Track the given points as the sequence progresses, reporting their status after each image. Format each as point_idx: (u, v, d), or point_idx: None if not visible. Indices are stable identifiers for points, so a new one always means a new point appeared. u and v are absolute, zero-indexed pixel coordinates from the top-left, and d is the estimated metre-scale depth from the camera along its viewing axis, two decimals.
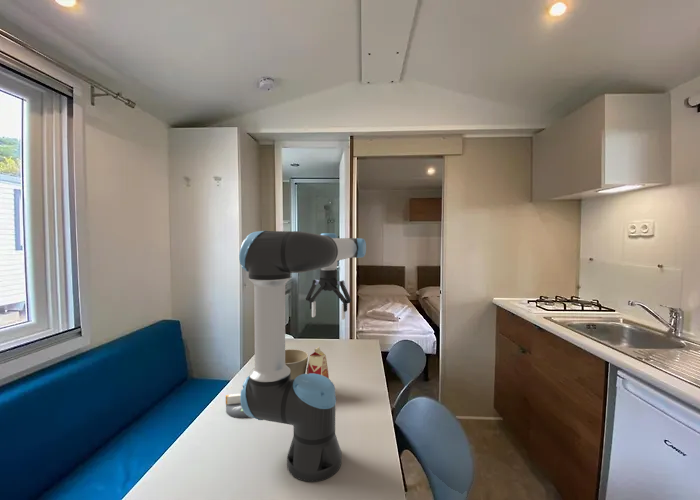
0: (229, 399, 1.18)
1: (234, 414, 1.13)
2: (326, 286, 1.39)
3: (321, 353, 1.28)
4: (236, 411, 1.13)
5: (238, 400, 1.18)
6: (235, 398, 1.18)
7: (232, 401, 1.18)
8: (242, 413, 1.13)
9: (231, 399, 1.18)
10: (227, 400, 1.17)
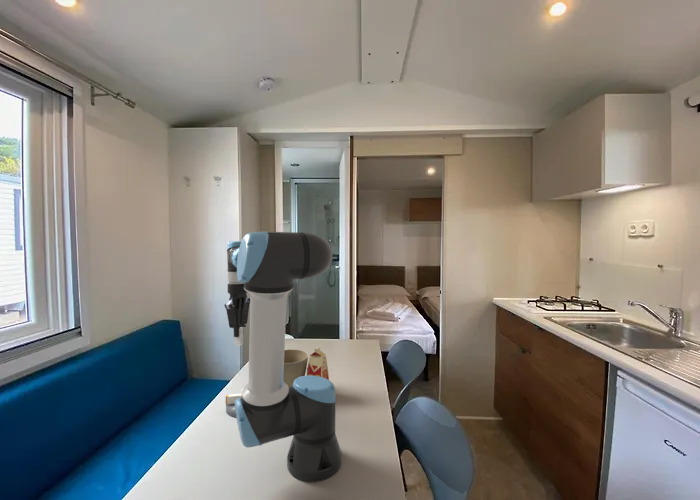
0: (229, 399, 1.18)
1: (234, 414, 1.13)
2: None
3: (321, 353, 1.28)
4: None
5: None
6: (235, 398, 1.18)
7: (232, 401, 1.18)
8: None
9: (231, 399, 1.18)
10: (227, 400, 1.17)
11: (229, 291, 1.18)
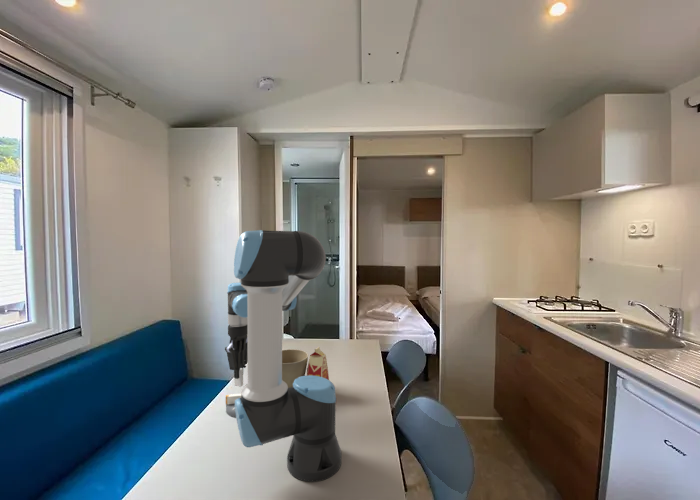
0: (229, 399, 1.18)
1: (234, 414, 1.13)
2: None
3: (321, 353, 1.28)
4: None
5: None
6: (235, 398, 1.18)
7: (232, 401, 1.18)
8: None
9: (231, 399, 1.18)
10: (227, 400, 1.17)
11: (229, 334, 1.19)
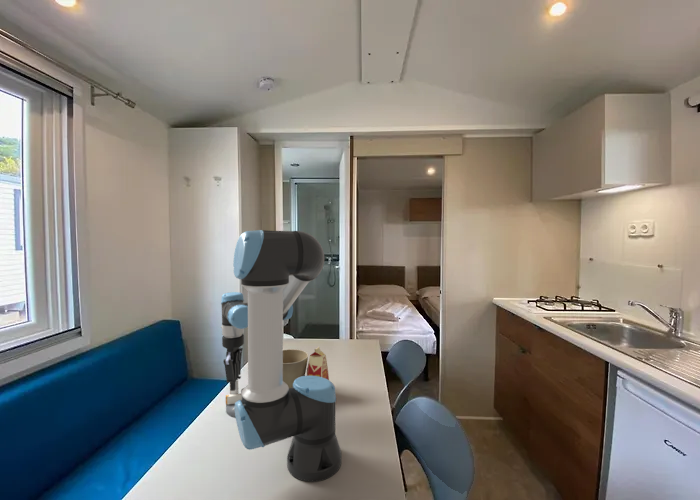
0: (229, 399, 1.18)
1: (234, 414, 1.13)
2: None
3: (321, 353, 1.28)
4: None
5: None
6: (235, 398, 1.18)
7: (232, 401, 1.18)
8: None
9: (231, 399, 1.18)
10: (227, 400, 1.17)
11: (226, 346, 1.16)
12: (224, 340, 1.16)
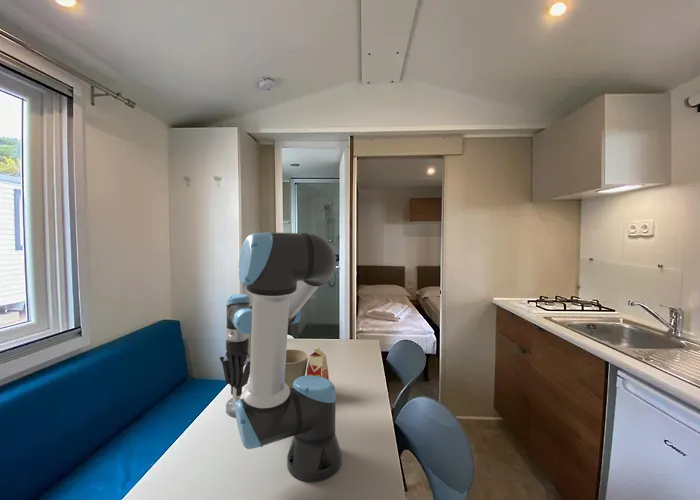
0: None
1: (234, 414, 1.13)
2: None
3: (321, 353, 1.28)
4: None
5: None
6: None
7: None
8: None
9: None
10: None
11: (244, 349, 1.12)
12: (242, 344, 1.11)
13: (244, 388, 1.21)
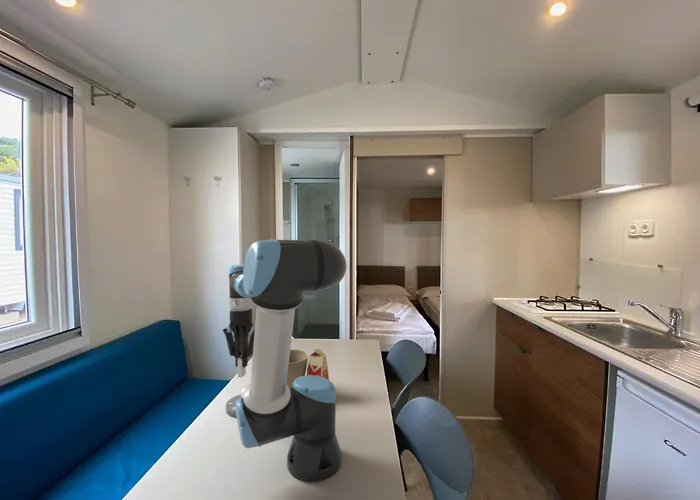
0: None
1: (234, 414, 1.13)
2: None
3: (321, 353, 1.28)
4: None
5: None
6: None
7: None
8: None
9: None
10: None
11: (248, 318, 1.12)
12: (246, 313, 1.11)
13: (243, 389, 1.20)
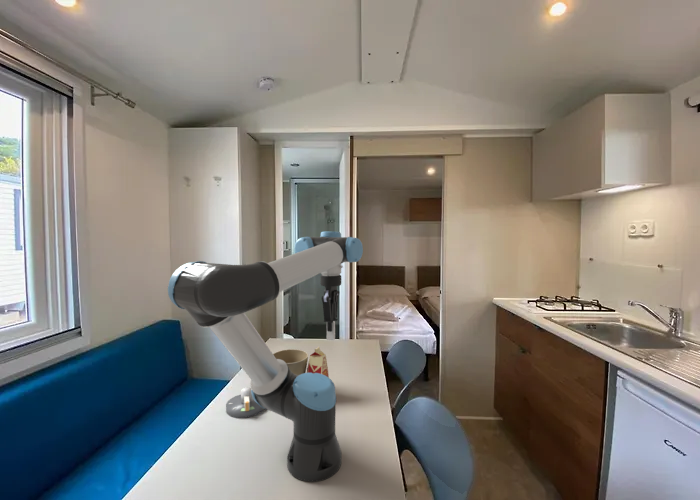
0: (249, 404, 1.15)
1: (234, 414, 1.13)
2: None
3: (321, 353, 1.28)
4: (236, 411, 1.13)
5: None
6: (249, 400, 1.16)
7: None
8: (242, 413, 1.13)
9: None
10: (249, 405, 1.14)
11: None
12: None
13: (243, 389, 1.20)
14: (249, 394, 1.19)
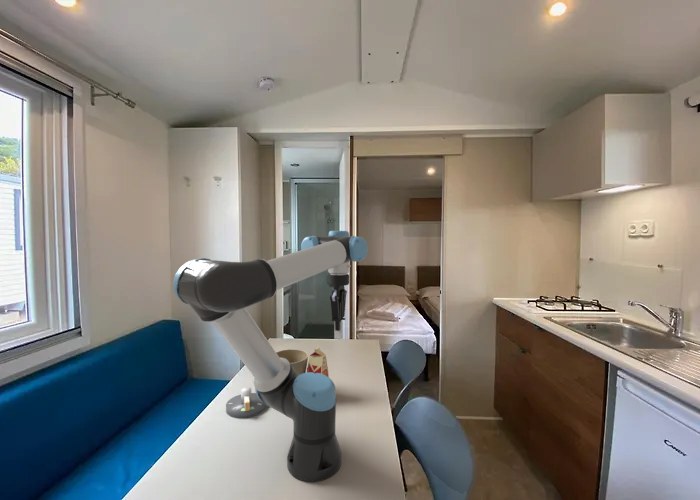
0: (249, 404, 1.15)
1: (234, 414, 1.13)
2: None
3: (321, 353, 1.28)
4: (236, 411, 1.13)
5: None
6: (249, 400, 1.16)
7: None
8: (242, 413, 1.13)
9: None
10: (249, 405, 1.14)
11: None
12: None
13: (243, 389, 1.20)
14: (249, 394, 1.19)
